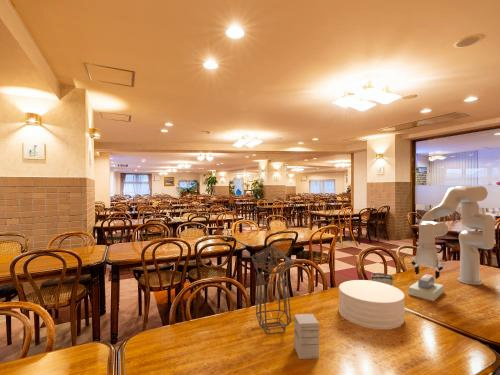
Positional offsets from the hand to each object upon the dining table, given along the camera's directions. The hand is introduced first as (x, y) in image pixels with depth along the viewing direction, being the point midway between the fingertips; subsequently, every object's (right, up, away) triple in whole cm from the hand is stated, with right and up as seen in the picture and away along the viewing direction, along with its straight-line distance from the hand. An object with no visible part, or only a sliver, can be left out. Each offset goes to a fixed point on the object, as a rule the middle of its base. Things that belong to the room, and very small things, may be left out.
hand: (426, 275), depth 160 cm
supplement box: (-78, -11, -56) cm, 97 cm away
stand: (0, -10, 0) cm, 10 cm away
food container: (-25, -10, +2) cm, 27 cm away
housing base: (0, -6, 0) cm, 6 cm away
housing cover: (0, -2, 0) cm, 2 cm away
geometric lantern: (-89, -11, -39) cm, 98 cm away
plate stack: (-42, -11, -25) cm, 50 cm away
